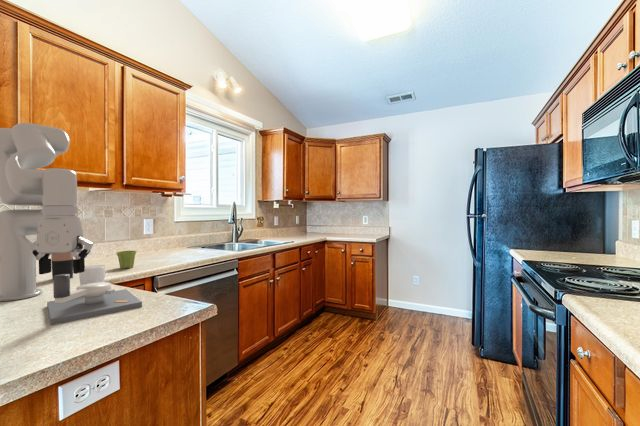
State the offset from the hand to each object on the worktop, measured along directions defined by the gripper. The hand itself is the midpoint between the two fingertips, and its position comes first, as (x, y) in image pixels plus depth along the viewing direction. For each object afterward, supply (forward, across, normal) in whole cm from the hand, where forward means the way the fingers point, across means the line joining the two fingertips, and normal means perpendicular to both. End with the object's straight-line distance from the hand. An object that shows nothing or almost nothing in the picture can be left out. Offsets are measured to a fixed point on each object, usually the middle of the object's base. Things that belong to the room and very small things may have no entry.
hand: (62, 273), depth 86 cm
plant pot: (+12, -33, +78) cm, 85 cm away
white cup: (+13, -13, +28) cm, 34 cm away
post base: (+13, -1, +12) cm, 18 cm away
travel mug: (+12, -46, +52) cm, 70 cm away
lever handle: (+9, 0, +8) cm, 12 cm away
